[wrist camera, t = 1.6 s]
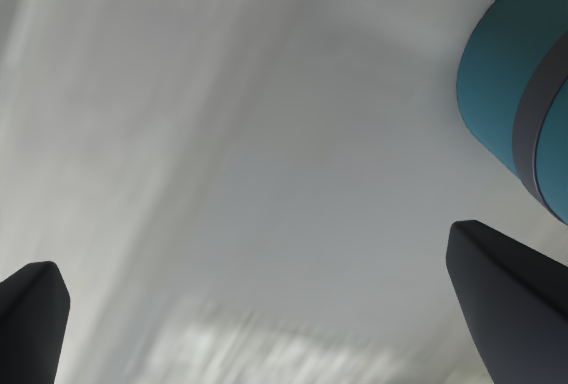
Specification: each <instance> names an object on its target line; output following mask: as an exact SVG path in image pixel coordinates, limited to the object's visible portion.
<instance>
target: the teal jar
mask: <svg viewBox="0 0 568 384" xmlns="http://www.w3.org/2000/svg"><path fill="white" fill-rule="evenodd" d="M457 99H458V105H459V109H460V112H461V115H462V118H463V120H464V122H465V124H466V126H467V128H468V129H469V130H470V132H471V133H472V134H473V135H474V136H475V137H476V138H477V139H478V140H479V141H480V142H481V143H482V144H483V145H484V146H485V147H486V148H487V149H488V150H489V151H490V152H491V153H492V154H494V155H495V156H496V157H497V158H498V159H499V160H500V161H501V162H502V163H503V164H504V165H505V166H506V167H507V168H508V169H509V170H510V171H511V172H512V173H514V174H515V175H516V176H517V177H518V178H519V179H520V180H521V182H522V184H523V185H524V186H525V188H526V189H527V190H528V192H529V193H530V194H531V195H532V196H533V197H534V198H535V199H537V200H538V201H539V202H540V203H541V204H542V205H543V206H544V207H545V208H546V209H547V210H548V211H549V212H550V213H551V214H552V215H553V216H554V217H556V218H557V219H558V220H559V221H561V222H563V223H564V224H566V225H567V226H568V0H497V1H496V2H495V3H494V4H493V5H492V6H491V7H490V9H489V10H488V11H487V12H486V14H485V15H484V16H483V18H482V19H481V20H480V22H479V23H478V25H477V27H476V28H475V30H474V31H473V33H472V35H471V37H470V39H469V41H468V43H467V45H466V48H465V50H464V53H463V56H462V59H461V63H460V67H459V71H458V79H457Z"/></svg>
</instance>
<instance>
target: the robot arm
mask: <svg viewBox="0 0 568 384" xmlns="http://www.w3.org/2000/svg"><path fill="white" fill-rule="evenodd" d="M446 266H447V270H448V272H449V275H450V278H451V281H452V284H453V286H454V289H455V292H456V295H457V297H458V300H459V303H460V306H461V309H462V311H463V314H464V317H465V320H466V322H467V325H468V328H469V331H470V333H471V336H472V338H473V341H474V343H475V345H476V347H477V350H478V352H479V354H480V356H481V358H482V360H483V362H484V364H485V366H486V368H487V370H488V372H489V374H490V376H491V378H492V380H493V382H494V384H568V267H567V266H565V265H563V264H561V263H559V262H557V261H555V260H553V259H551V258H549V257H547V256H545V255H543V254H541V253H539V252H538V251H536V250H534V249H532V248H530V247H528V246H526V245H524V244H522V243H520V242H518V241H516V240H514V239H512V238H510V237H508V236H506V235H505V234H503V233H501V232H499V231H497V230H495V229H493V228H491V227H489V226H487V225H485V224H483V223H481V222H479V221H477V220H466V221H456V222H454V223H453V224H452V226H451V228H450V234H449V240H448V246H447V253H446ZM69 310H70V296H69V292H68V290H67V288H66V285H65V283H64V280H63V278H62V276H61V273H60V271H59V268H58V267H57V265H56V264H55V263H54V262H52V261H44V262H34V263H29V264H27V265H25V266H24V267H23V268H21V269H20V270H18V271H17V272H15V273H14V274H13V275H11V276H10V277H8V278H7V279H5V280H4V281H3V282H1V283H0V384H54V380H55V376H56V372H57V367H58V363H59V358H60V353H61V348H62V343H63V339H64V334H65V329H66V324H67V320H68V315H69Z"/></svg>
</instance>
